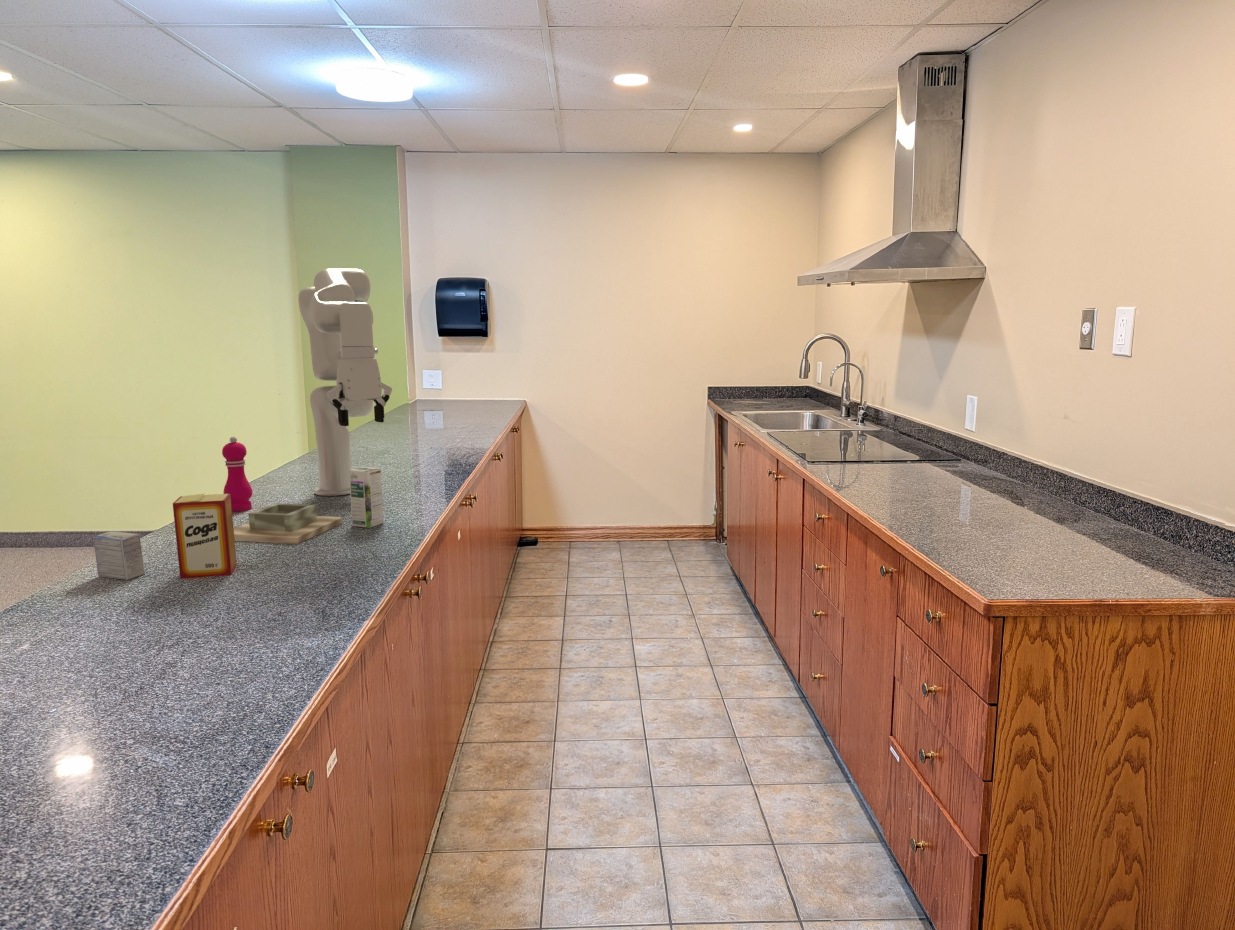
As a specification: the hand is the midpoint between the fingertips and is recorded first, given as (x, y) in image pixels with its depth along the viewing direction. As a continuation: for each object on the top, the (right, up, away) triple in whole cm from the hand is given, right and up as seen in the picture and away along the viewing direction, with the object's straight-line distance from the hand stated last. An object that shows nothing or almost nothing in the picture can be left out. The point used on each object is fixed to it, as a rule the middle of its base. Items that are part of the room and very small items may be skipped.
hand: (362, 423), depth 206 cm
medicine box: (-38, -33, -35) cm, 62 cm away
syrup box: (0, -25, +5) cm, 26 cm away
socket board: (-19, -26, -1) cm, 32 cm away
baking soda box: (-22, -33, -33) cm, 51 cm away
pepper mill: (-40, -22, +23) cm, 51 cm away
